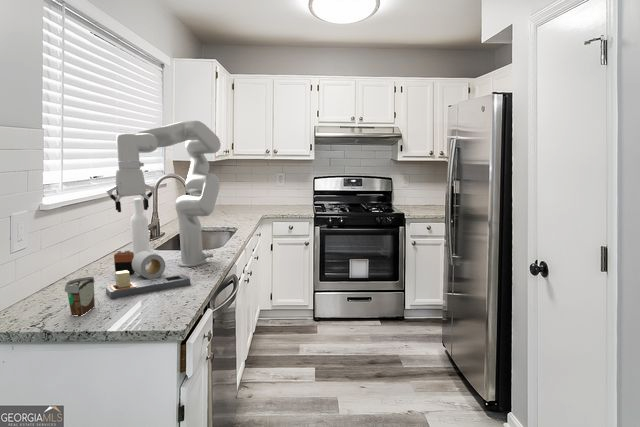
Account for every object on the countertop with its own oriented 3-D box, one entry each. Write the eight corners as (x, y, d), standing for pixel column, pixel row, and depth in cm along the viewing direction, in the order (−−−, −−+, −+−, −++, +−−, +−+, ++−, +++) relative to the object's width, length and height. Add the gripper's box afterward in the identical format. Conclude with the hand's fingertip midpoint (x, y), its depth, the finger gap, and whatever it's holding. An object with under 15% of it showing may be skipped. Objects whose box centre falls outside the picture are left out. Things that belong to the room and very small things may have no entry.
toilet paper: (166, 276, 189) (164, 252, 188) (141, 281, 183) (139, 256, 182) (156, 272, 197) (154, 249, 196) (132, 276, 190) (130, 253, 189)
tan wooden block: (128, 291, 168) (126, 270, 167) (131, 293, 165) (129, 272, 164) (116, 293, 166) (115, 271, 165) (119, 296, 163) (117, 273, 162)
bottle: (150, 258, 225) (145, 197, 221) (151, 261, 218) (146, 198, 214) (132, 260, 222) (127, 198, 218) (133, 263, 215) (128, 199, 211)
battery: (131, 275, 193) (129, 251, 192) (115, 275, 193) (113, 252, 192) (135, 272, 197) (133, 249, 196) (119, 273, 197) (117, 250, 196)
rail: (182, 280, 182) (182, 273, 182) (190, 284, 175) (190, 277, 174) (106, 293, 166) (105, 285, 166) (111, 299, 159) (110, 291, 159)
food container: (77, 306, 152) (74, 277, 151) (96, 305, 152) (94, 276, 151) (59, 319, 140) (56, 287, 138) (80, 318, 140) (77, 286, 139)
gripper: (150, 165, 183) (153, 208, 185) (102, 166, 174) (106, 212, 176) (155, 165, 177) (158, 209, 179) (106, 166, 167) (110, 213, 169)
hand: (132, 210), depth 177 cm, fingers open, 9 cm apart
